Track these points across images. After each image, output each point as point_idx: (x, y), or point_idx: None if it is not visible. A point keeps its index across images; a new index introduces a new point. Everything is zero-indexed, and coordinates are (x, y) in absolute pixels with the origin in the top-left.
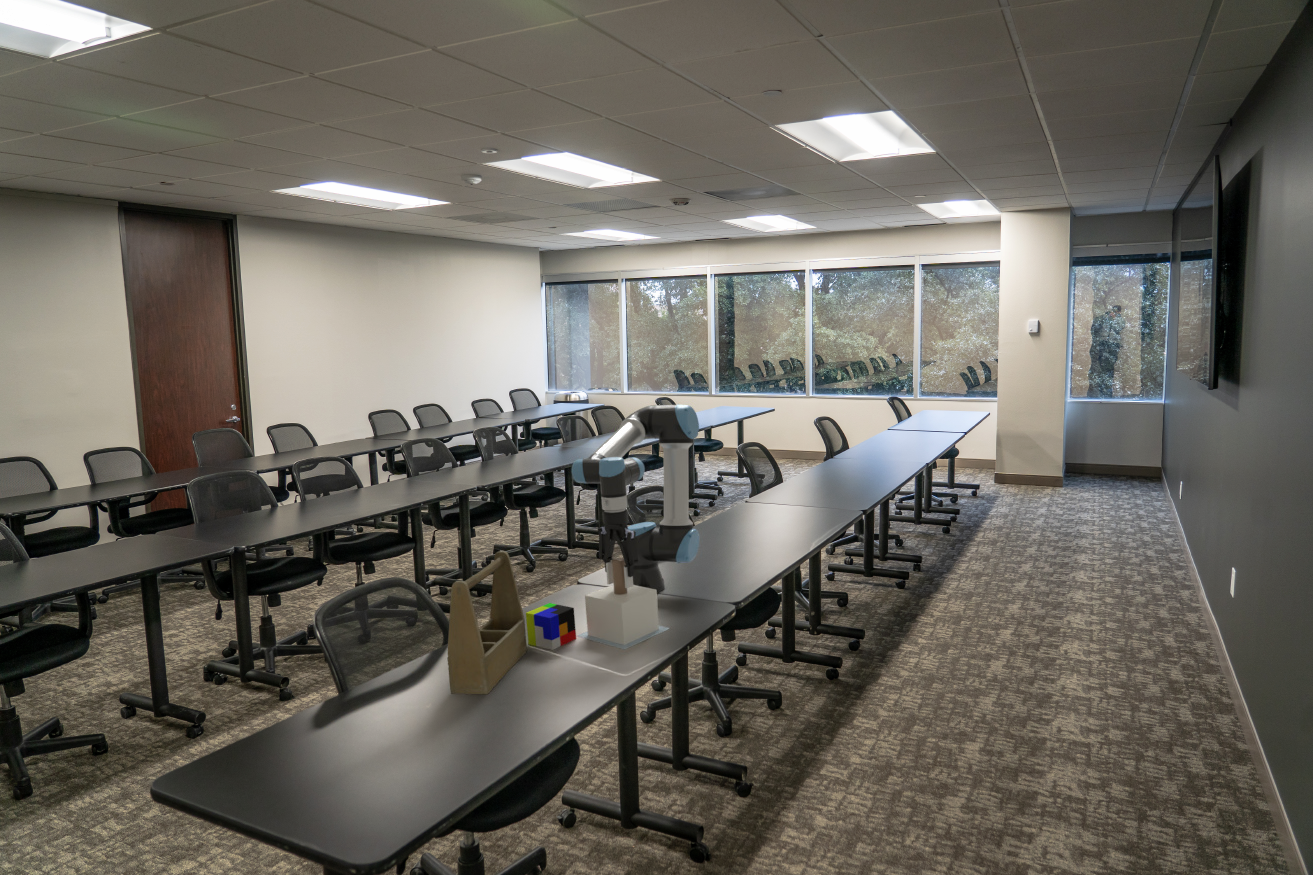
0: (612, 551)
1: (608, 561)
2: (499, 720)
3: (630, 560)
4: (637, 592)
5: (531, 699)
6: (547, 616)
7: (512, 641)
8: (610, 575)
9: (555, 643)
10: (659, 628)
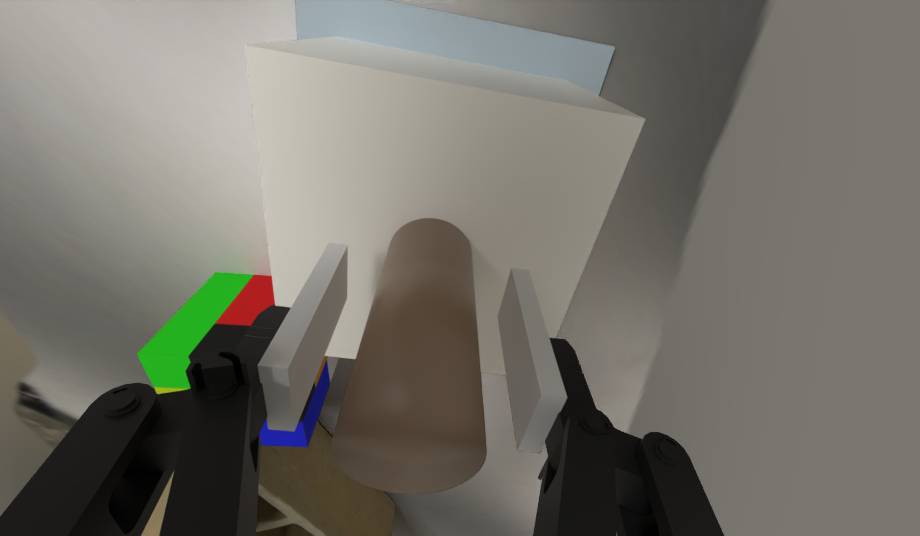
0: (243, 514)
1: (261, 410)
2: (482, 533)
3: (629, 531)
4: (534, 221)
5: (481, 494)
6: (286, 441)
7: (314, 492)
8: (330, 321)
9: (333, 362)
10: (565, 72)
